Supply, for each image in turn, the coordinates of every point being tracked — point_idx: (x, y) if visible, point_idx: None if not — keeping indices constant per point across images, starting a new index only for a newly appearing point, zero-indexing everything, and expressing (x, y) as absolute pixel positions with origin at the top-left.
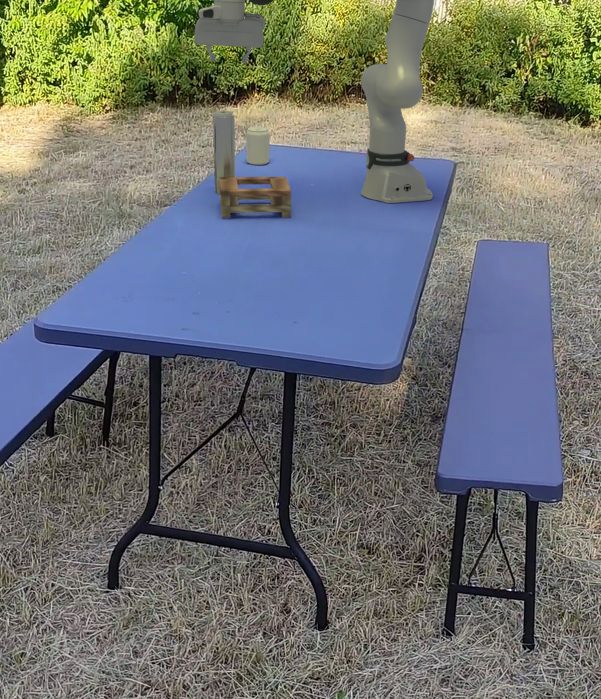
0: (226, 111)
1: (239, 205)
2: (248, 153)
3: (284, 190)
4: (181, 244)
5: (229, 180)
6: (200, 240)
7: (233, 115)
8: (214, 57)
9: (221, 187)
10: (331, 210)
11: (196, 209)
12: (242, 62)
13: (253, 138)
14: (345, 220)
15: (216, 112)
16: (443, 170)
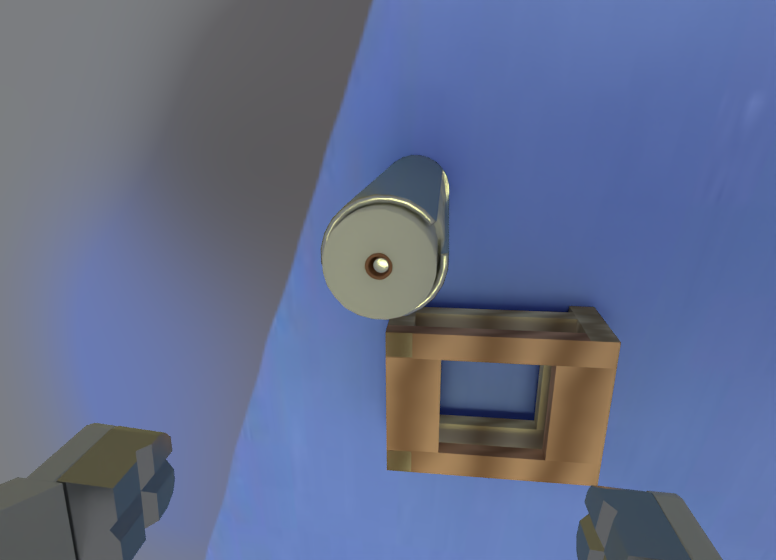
0: (399, 243)
1: (441, 430)
2: None
3: (576, 482)
4: (310, 552)
5: (417, 370)
6: (346, 539)
7: (442, 275)
8: (133, 542)
9: (388, 436)
10: (714, 390)
11: (330, 346)
12: (580, 550)
13: None
14: (721, 469)
15: (337, 269)
16: None
